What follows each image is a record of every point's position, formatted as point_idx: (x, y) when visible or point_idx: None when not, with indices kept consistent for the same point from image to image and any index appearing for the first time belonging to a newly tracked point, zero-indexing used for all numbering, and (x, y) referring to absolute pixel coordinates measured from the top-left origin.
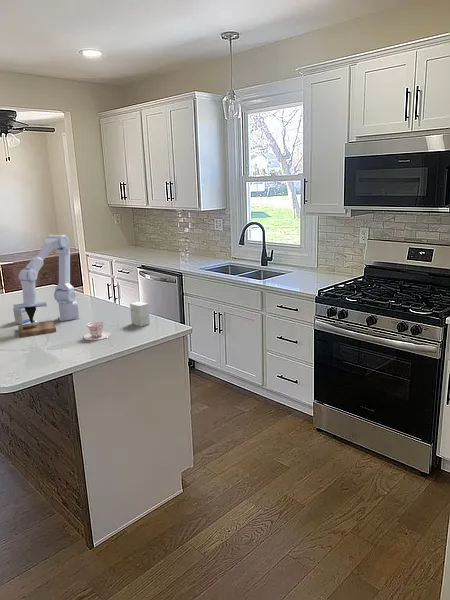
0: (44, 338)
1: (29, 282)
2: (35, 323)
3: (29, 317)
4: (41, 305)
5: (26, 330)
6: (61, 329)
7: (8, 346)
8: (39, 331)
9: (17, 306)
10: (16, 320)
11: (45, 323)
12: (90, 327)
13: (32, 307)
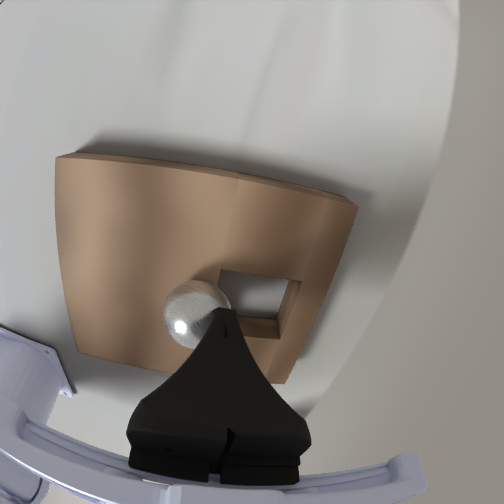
0: (201, 24)
1: None
2: (191, 291)
3: (246, 348)
4: (53, 446)
5: (289, 243)
6: (41, 189)
7: (444, 66)
8: (190, 168)
9: (396, 484)
10: None
11: (116, 327)
12: None
13: (182, 468)
